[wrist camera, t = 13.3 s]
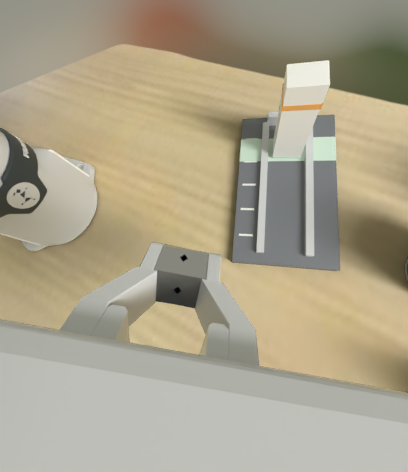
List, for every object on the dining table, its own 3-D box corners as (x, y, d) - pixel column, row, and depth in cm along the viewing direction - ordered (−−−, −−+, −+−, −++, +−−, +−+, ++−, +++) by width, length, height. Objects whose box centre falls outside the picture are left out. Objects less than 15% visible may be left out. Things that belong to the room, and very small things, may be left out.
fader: (272, 157, 33) (285, 88, 22) (272, 140, 34) (286, 64, 23) (300, 157, 33) (330, 85, 21) (300, 139, 33) (329, 60, 22)
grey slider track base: (232, 262, 32) (231, 259, 29) (242, 124, 38) (242, 110, 35) (336, 271, 29) (346, 268, 27) (331, 120, 35) (339, 105, 32)
